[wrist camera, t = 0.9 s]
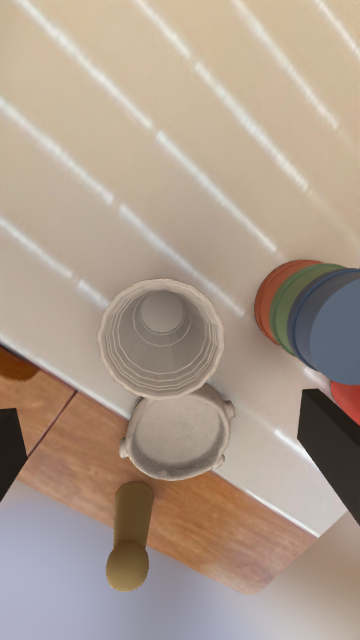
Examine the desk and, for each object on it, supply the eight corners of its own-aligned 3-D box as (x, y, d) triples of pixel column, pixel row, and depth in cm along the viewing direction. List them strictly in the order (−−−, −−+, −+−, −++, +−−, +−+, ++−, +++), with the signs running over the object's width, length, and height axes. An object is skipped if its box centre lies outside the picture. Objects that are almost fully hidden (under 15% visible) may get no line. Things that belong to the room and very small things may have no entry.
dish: (116, 442, 38) (110, 470, 33) (148, 360, 35) (146, 378, 30) (207, 466, 41) (213, 495, 36) (244, 390, 37) (256, 412, 33)
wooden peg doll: (131, 475, 40) (120, 557, 29) (161, 493, 41) (162, 578, 31) (107, 500, 41) (89, 588, 30) (138, 517, 42) (130, 607, 32)
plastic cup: (166, 248, 31) (170, 249, 20) (219, 315, 34) (249, 350, 23) (99, 305, 33) (66, 337, 21) (156, 365, 35) (154, 422, 24)
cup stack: (256, 261, 33) (309, 268, 21) (345, 258, 33) (444, 264, 22) (252, 347, 36) (296, 395, 24) (333, 343, 36) (414, 388, 25)
